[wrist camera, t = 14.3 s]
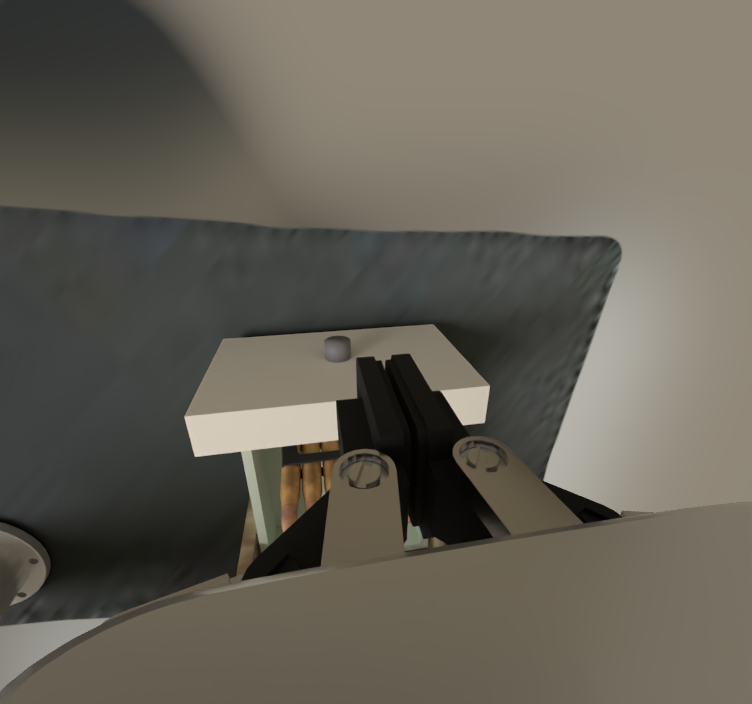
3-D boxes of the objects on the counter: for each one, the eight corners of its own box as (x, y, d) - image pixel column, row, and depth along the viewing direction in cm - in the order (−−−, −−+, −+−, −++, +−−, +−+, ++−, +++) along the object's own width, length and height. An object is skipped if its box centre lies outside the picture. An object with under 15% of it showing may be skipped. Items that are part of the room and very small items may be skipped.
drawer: (259, 526, 42) (244, 644, 31) (220, 323, 32) (178, 396, 21) (422, 502, 45) (459, 601, 35) (434, 310, 35) (492, 367, 24)
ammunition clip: (388, 418, 38) (422, 511, 27) (388, 433, 39) (421, 529, 28) (281, 429, 36) (272, 534, 26) (283, 445, 37) (275, 552, 26)
